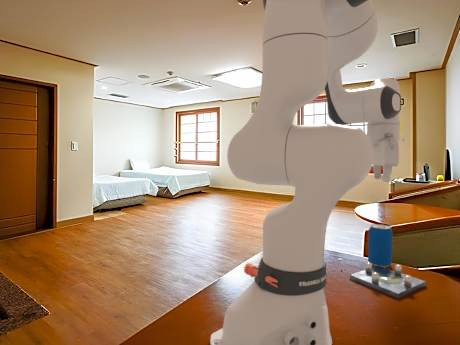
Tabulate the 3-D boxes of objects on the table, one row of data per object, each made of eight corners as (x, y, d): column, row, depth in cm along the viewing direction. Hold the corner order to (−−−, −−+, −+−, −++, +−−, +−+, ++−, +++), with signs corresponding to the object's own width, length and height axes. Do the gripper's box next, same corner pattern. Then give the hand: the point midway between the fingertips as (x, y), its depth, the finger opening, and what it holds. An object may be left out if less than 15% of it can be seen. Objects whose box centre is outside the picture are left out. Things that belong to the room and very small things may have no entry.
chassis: (397, 298, 70) (398, 283, 70) (349, 279, 81) (350, 266, 81) (425, 285, 77) (426, 272, 77) (377, 269, 88) (378, 257, 88)
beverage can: (393, 264, 92) (394, 226, 92) (388, 270, 87) (389, 230, 87) (371, 259, 97) (372, 222, 96) (365, 264, 92) (366, 226, 91)
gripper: (406, 132, 79) (404, 183, 80) (385, 136, 99) (383, 177, 100) (380, 132, 81) (379, 183, 81) (364, 136, 101) (363, 177, 101)
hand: (381, 180), depth 91 cm, fingers open, 8 cm apart
